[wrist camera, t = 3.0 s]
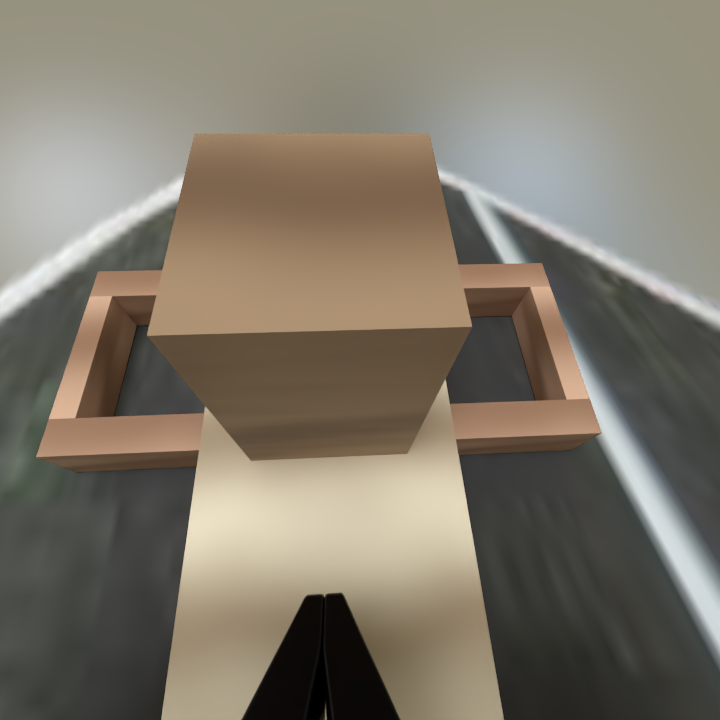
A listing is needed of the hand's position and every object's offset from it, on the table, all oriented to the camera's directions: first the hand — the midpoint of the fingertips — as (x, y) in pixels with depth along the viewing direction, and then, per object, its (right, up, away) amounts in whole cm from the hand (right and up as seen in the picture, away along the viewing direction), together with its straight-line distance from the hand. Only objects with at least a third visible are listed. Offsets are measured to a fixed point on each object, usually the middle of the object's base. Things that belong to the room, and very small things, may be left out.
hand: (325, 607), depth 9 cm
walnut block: (-1, +4, +8) cm, 9 cm away
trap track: (-1, +5, +11) cm, 12 cm away
